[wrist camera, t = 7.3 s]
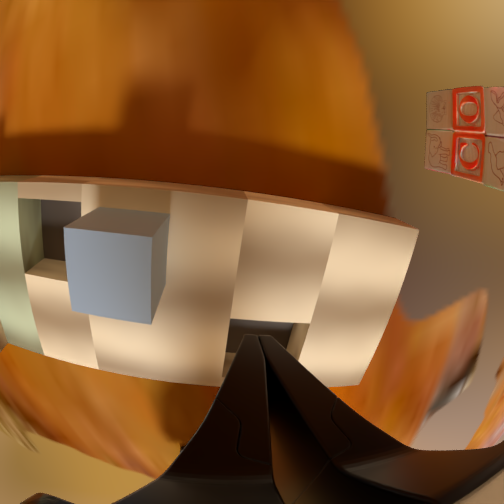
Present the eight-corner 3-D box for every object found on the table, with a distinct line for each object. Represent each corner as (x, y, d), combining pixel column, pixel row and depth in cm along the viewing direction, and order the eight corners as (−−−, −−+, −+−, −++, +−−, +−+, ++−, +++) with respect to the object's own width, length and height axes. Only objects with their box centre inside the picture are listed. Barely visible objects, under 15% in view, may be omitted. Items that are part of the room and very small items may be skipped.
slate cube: (165, 284, 15) (151, 324, 12) (100, 275, 15) (71, 310, 11) (169, 213, 14) (152, 237, 10) (99, 206, 14) (63, 227, 10)
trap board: (346, 361, 23) (365, 397, 19) (17, 322, 19) (-7, 350, 14) (395, 217, 19) (433, 237, 15) (-2, 175, 14) (-40, 186, 10)
